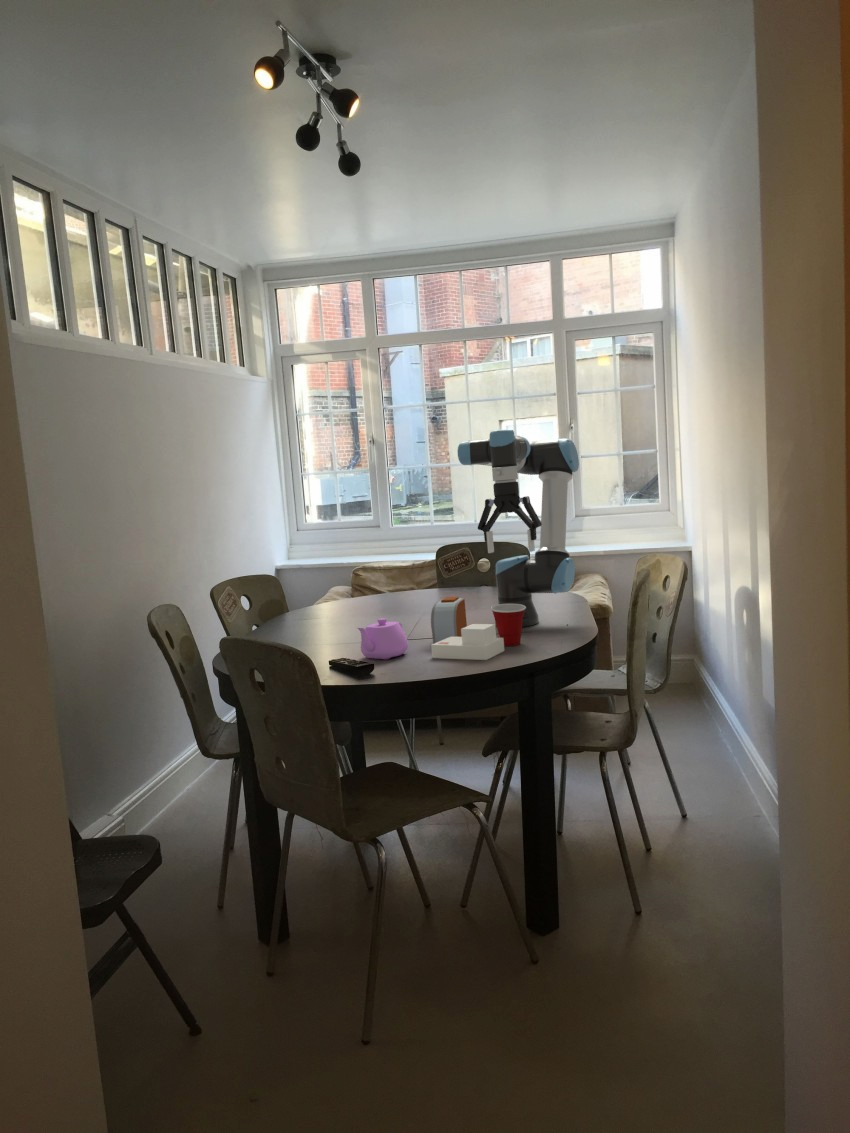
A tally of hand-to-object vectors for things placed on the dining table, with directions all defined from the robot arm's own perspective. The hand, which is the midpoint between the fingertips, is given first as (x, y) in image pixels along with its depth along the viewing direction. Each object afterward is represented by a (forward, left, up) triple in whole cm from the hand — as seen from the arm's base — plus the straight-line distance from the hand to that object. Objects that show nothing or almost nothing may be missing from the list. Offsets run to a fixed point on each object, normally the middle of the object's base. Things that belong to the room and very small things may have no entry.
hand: (511, 552), depth 270 cm
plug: (+14, -6, -28) cm, 32 cm away
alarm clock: (-4, -26, -29) cm, 39 cm away
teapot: (+21, -36, -29) cm, 51 cm away
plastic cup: (-1, -3, -29) cm, 29 cm away
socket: (+14, -10, -29) cm, 33 cm away
